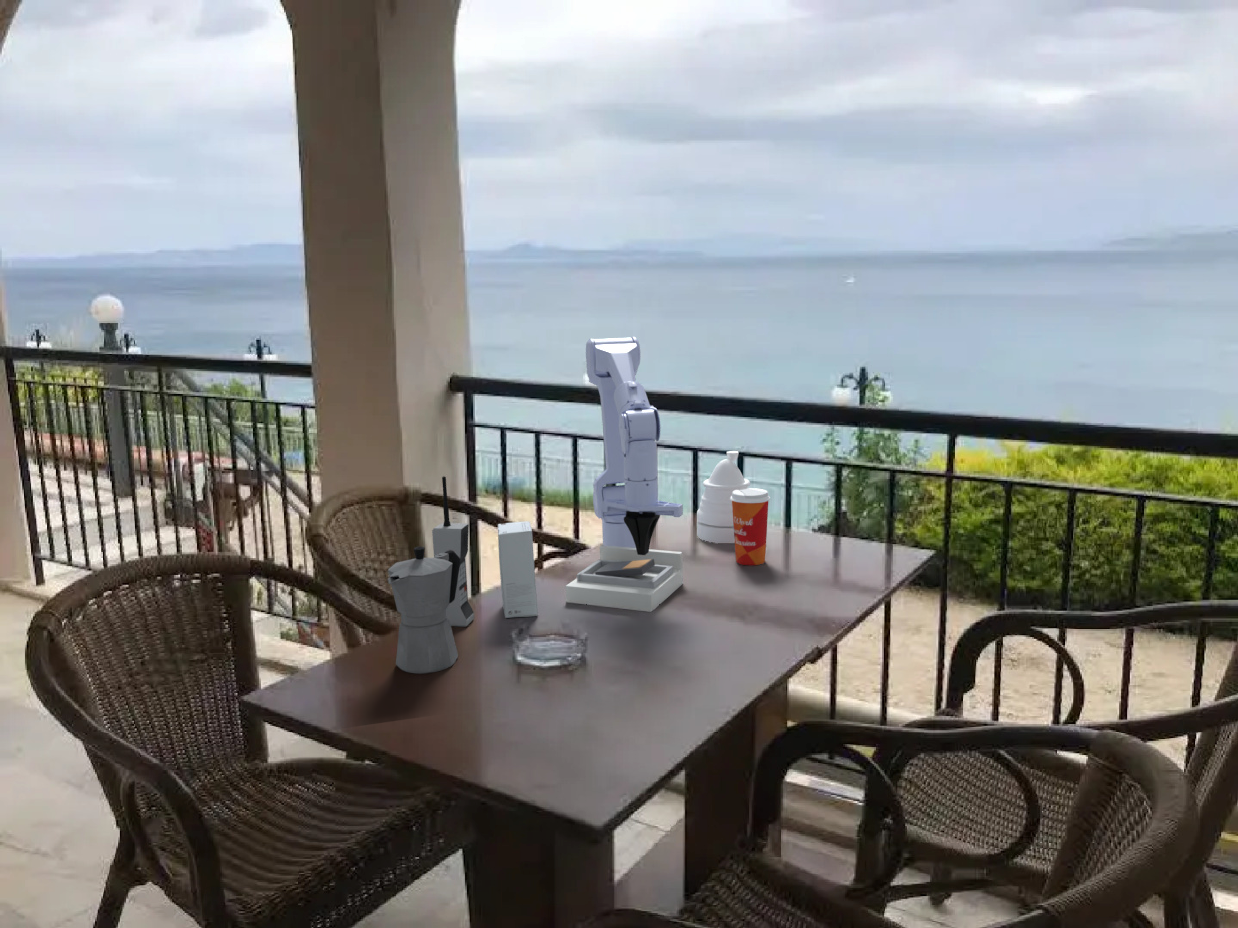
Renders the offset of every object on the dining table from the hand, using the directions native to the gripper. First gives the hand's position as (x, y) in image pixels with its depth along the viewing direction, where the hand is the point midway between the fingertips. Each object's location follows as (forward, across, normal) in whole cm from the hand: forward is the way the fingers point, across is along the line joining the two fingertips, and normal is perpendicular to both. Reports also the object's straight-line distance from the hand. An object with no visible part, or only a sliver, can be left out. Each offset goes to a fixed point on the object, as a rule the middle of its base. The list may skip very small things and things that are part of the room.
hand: (643, 553), depth 177 cm
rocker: (+3, -4, 0) cm, 5 cm away
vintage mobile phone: (+8, -24, -23) cm, 34 cm away
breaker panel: (+8, -4, 0) cm, 8 cm away
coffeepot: (+8, -20, -38) cm, 43 cm away
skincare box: (+8, -18, -14) cm, 24 cm away
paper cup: (+8, +12, +25) cm, 29 cm away
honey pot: (+8, +2, +42) cm, 43 cm away
